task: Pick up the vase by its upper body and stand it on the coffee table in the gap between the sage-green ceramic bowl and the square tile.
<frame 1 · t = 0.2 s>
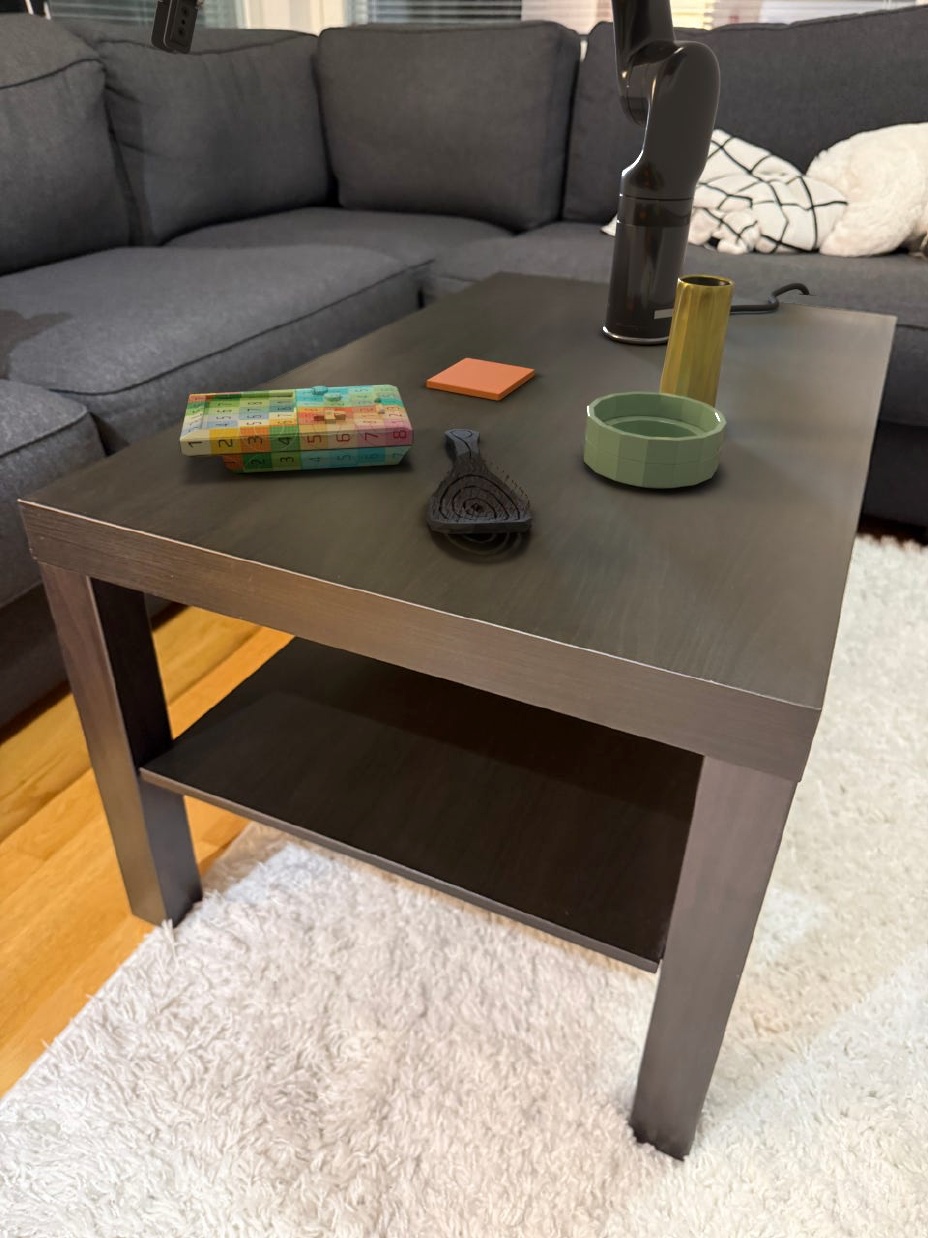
hand: (168, 49, 81), 31 cm above the table, tool tilted 20°, fingers open, 8 cm apart
vase: (681, 426, 90), on the table
puzzle game: (300, 452, 82), on the table
bowl: (648, 465, 81), on the table
hairbrush: (470, 492, 76), on the table
square tile: (481, 381, 100), on the table
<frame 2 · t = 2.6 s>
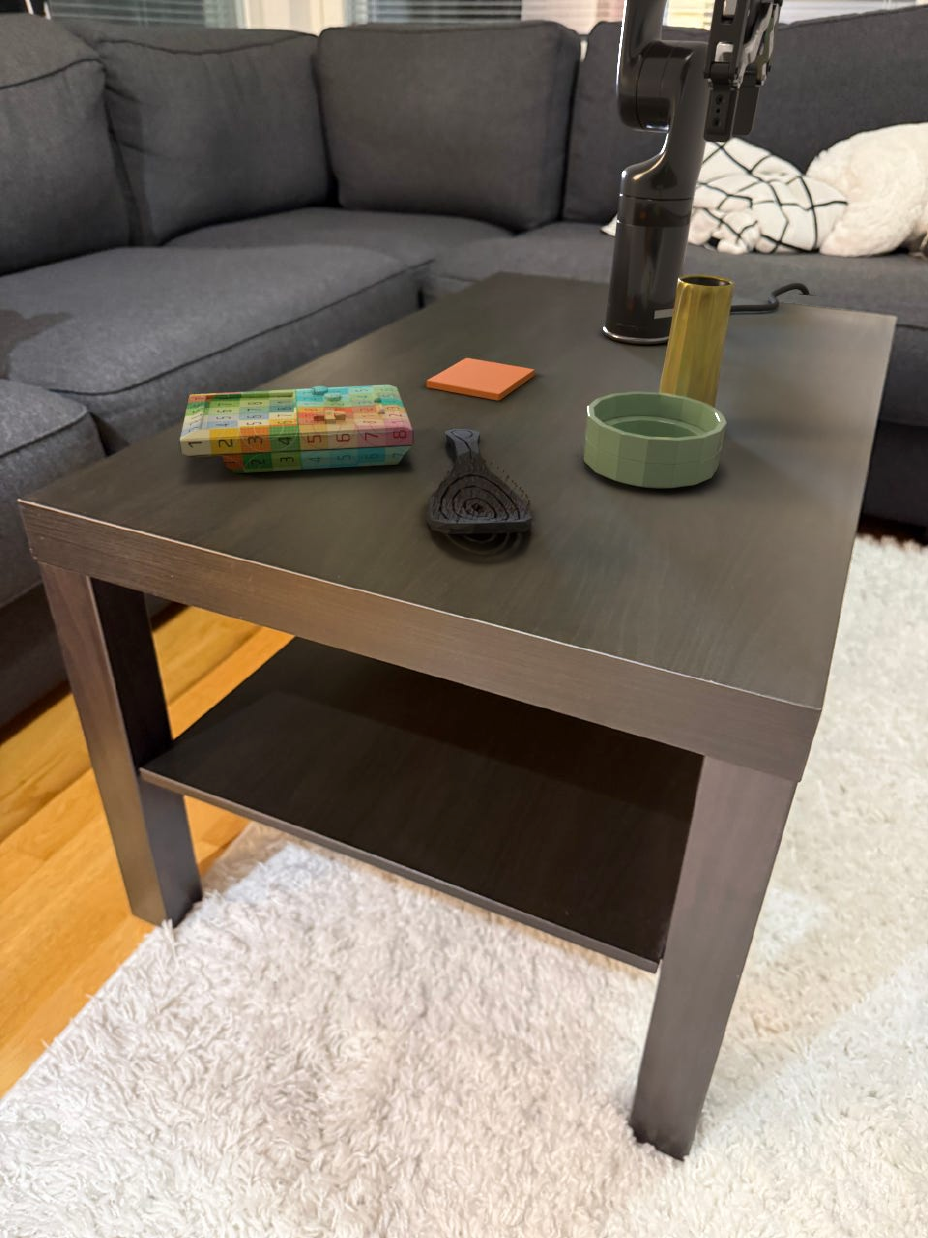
hand: (728, 137, 75), 26 cm above the table, tool pointing down, fingers open, 8 cm apart
nothing on the table moved.
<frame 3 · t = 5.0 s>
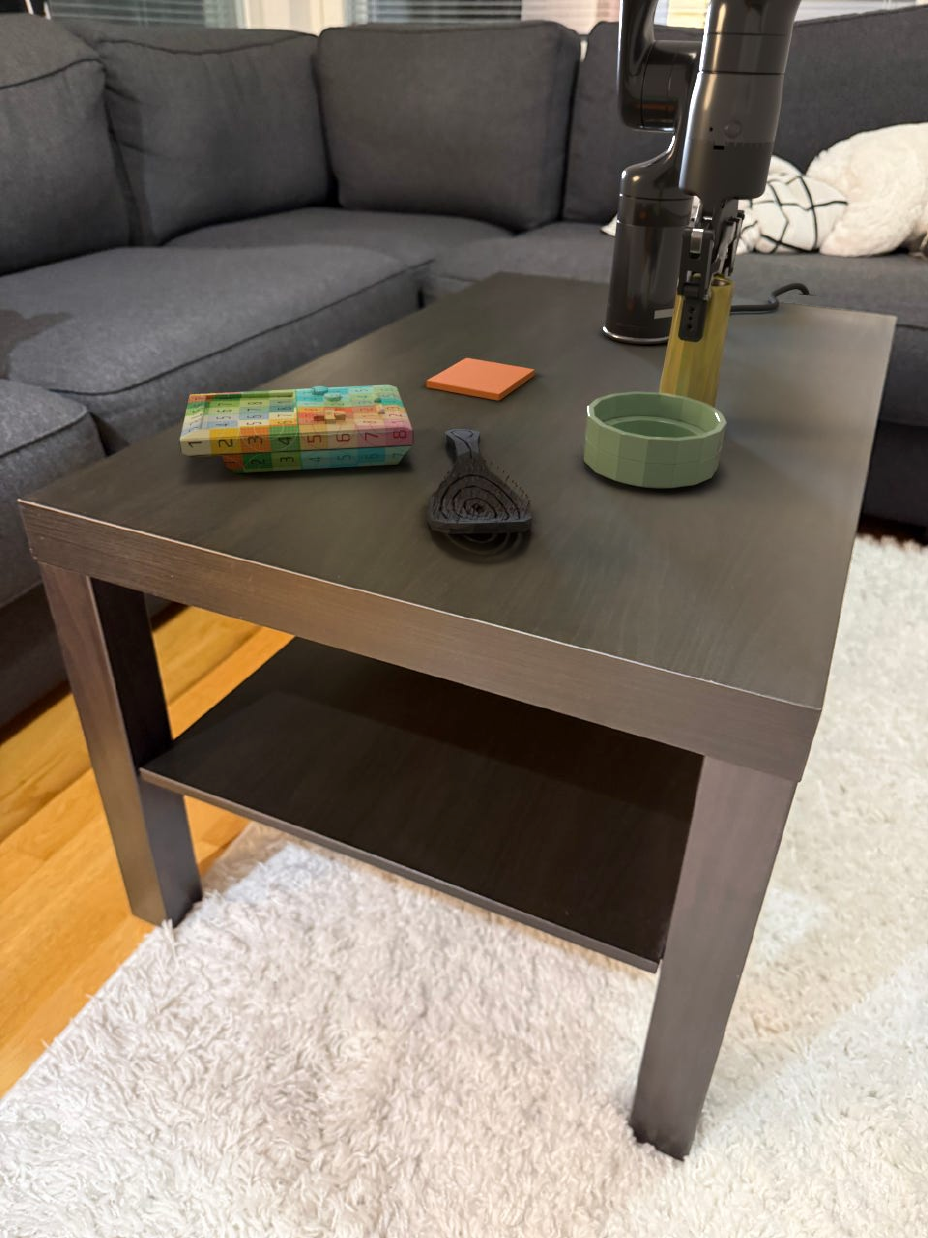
hand: (697, 332, 85), 9 cm above the table, tool pointing down, fingers closed on vase, 5 cm apart
vase: (681, 426, 90), on the table, touching gripper
everything else where it was.
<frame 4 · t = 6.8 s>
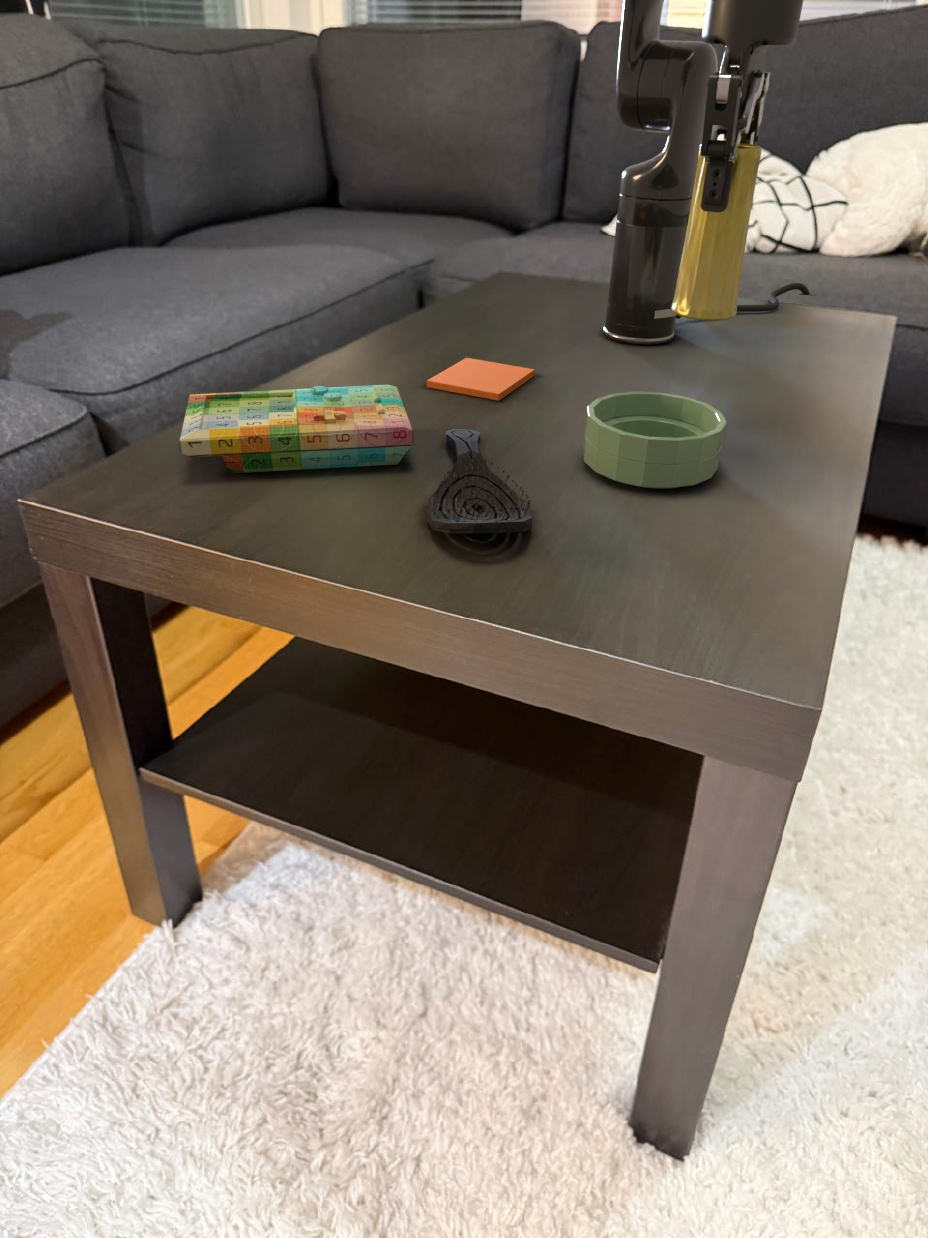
hand: (720, 205, 78), 21 cm above the table, tool pointing down, fingers closed on vase, 5 cm apart
vase: (702, 314, 84), point 11 cm above the table, touching gripper
everything else where it was.
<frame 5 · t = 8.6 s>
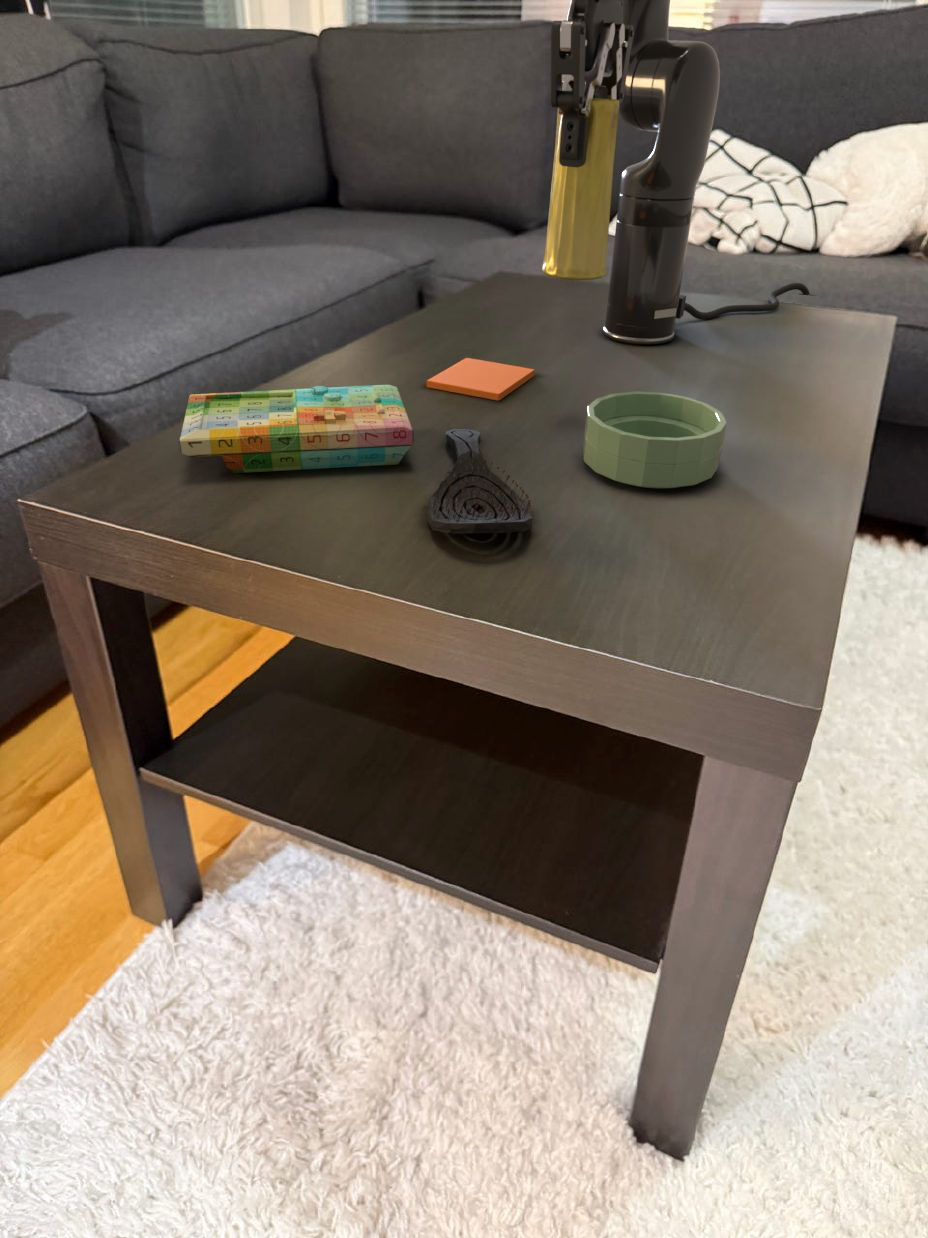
hand: (583, 161, 77), 24 cm above the table, tool pointing down, fingers closed on vase, 5 cm apart
vase: (573, 275, 83), point 14 cm above the table, touching gripper
everything else where it was.
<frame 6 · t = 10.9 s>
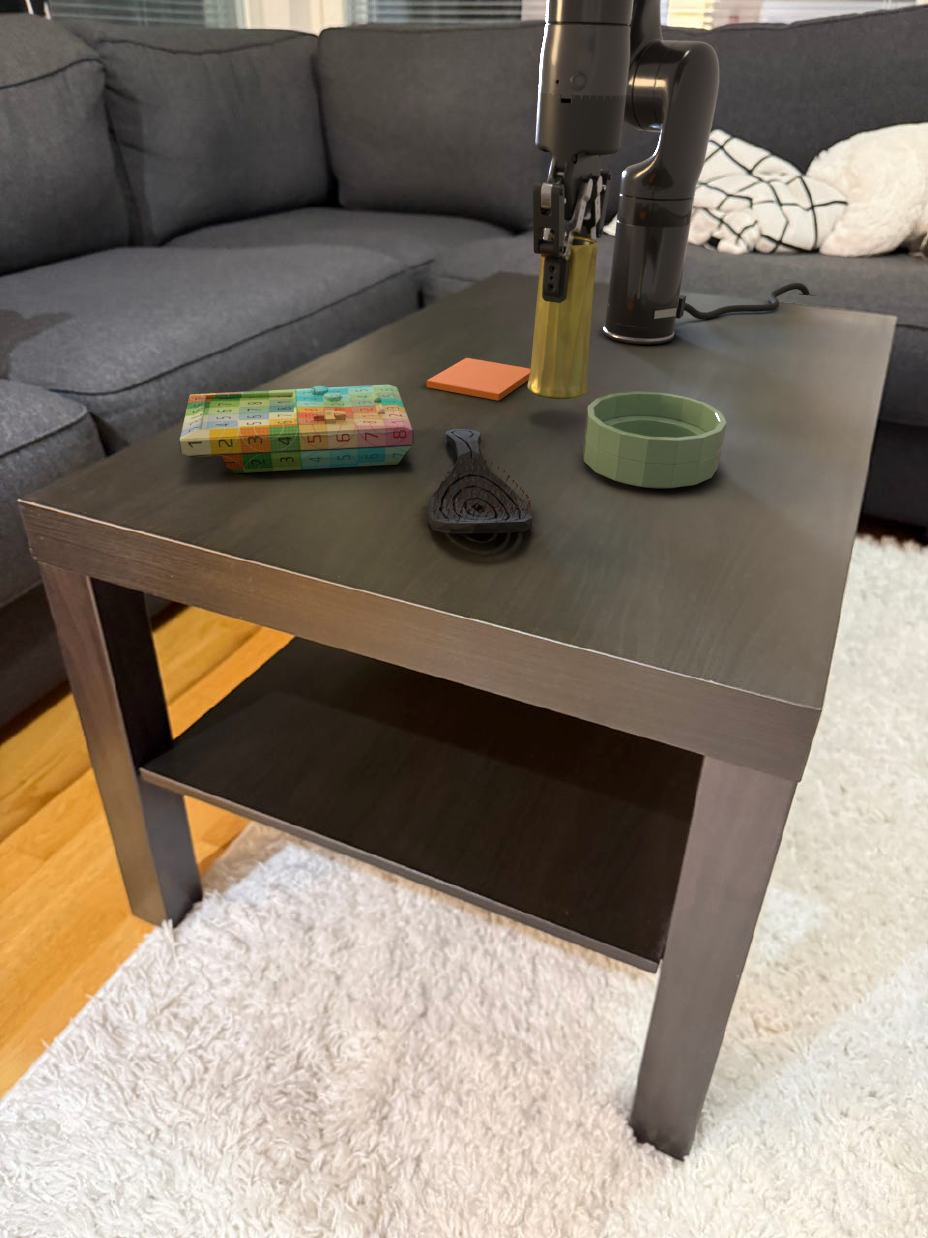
hand: (565, 293, 84), 13 cm above the table, tool pointing down, fingers closed on vase, 5 cm apart
vase: (557, 391, 89), point 3 cm above the table, touching gripper
everything else where it was.
when the fingers open (9 cm above the table, at t = 12.2 s): vase stays where it is, on the table.
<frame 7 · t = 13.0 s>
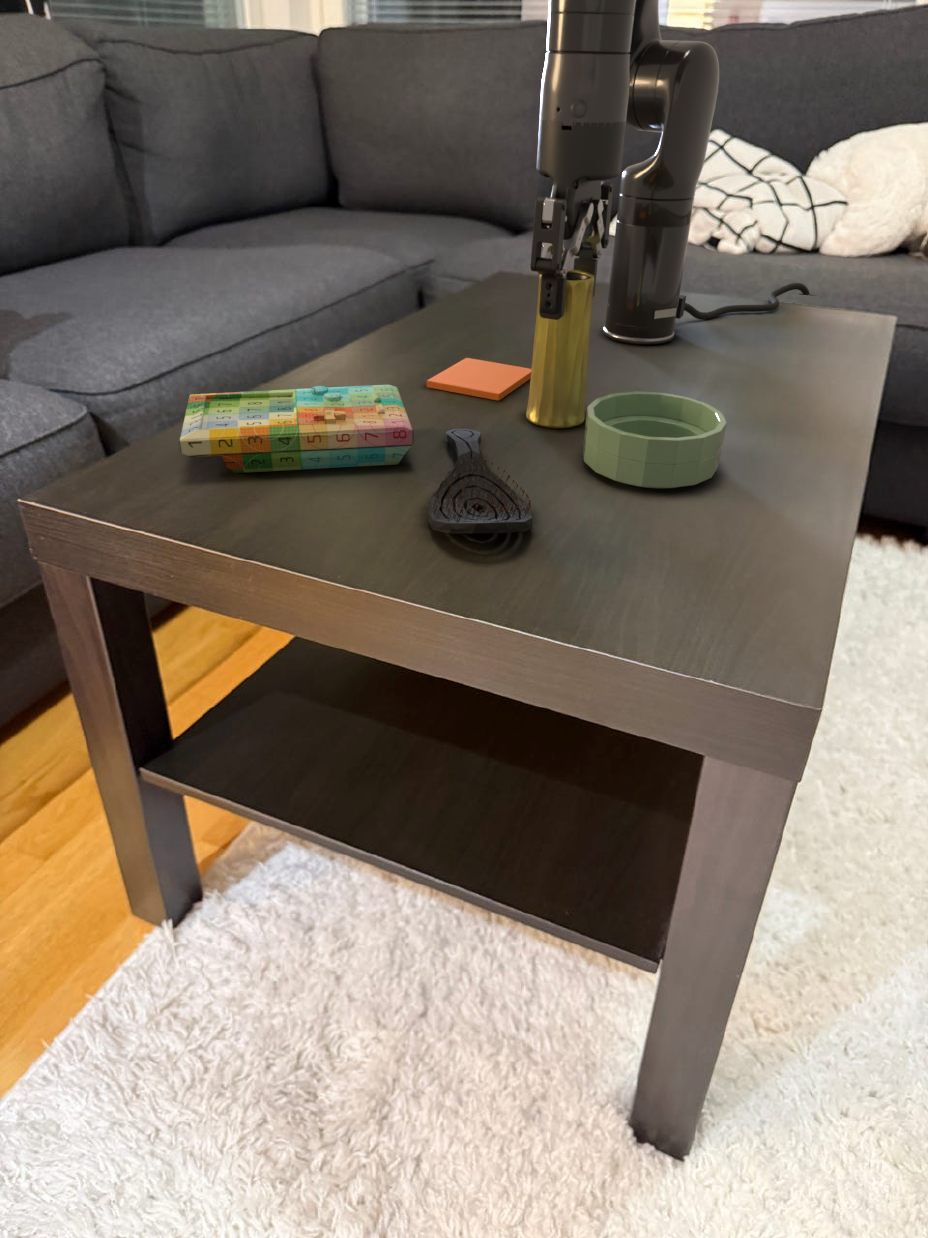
hand: (567, 307, 84), 11 cm above the table, tool pointing down, fingers open, 8 cm apart
vase: (555, 420, 91), on the table
everything else where it was.
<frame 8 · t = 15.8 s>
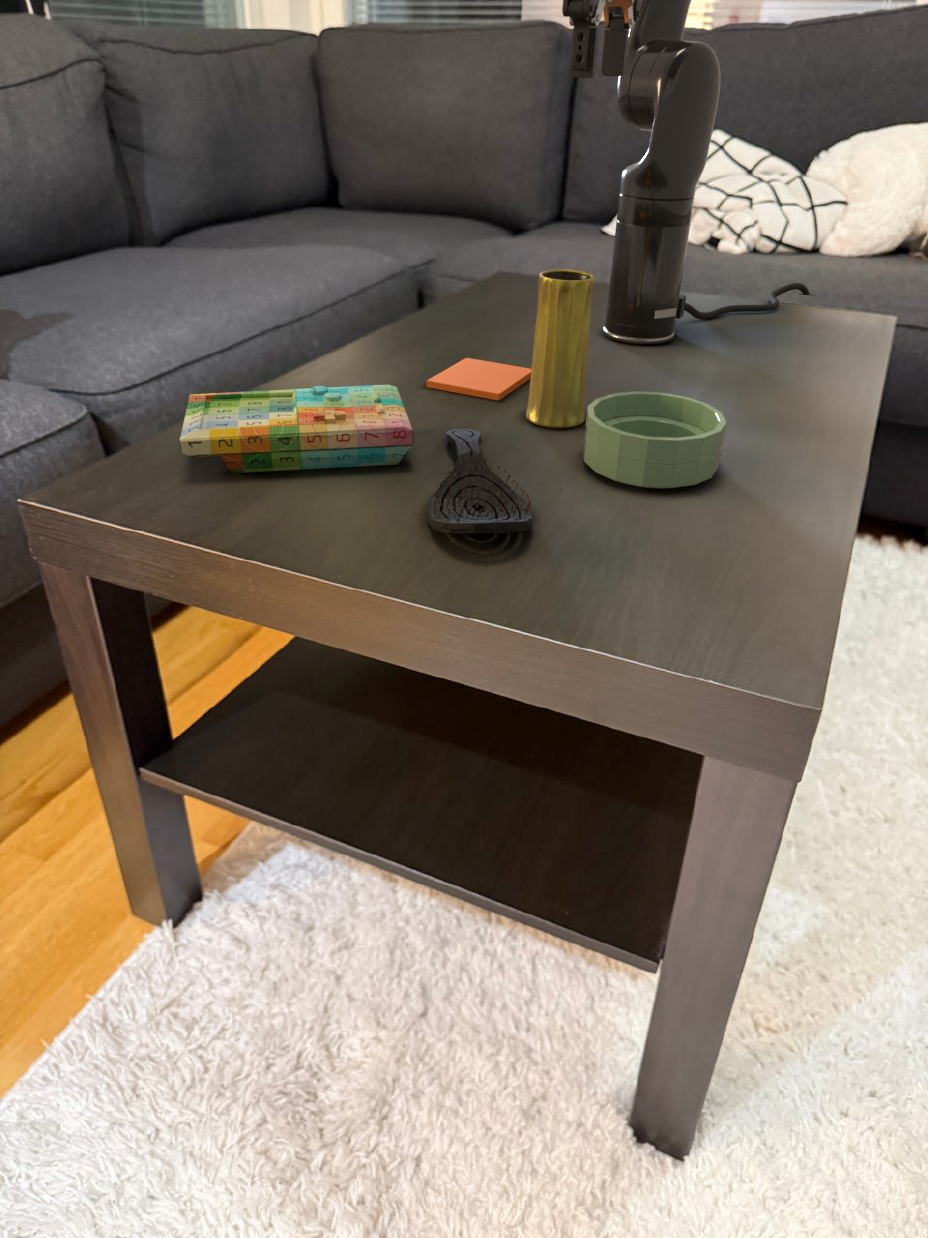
hand: (597, 76, 81), 30 cm above the table, tool pointing down, fingers open, 8 cm apart
nothing on the table moved.
at the end: vase 0.1 cm from the target spot on the table beside the square tile, on the table; vase 14.0 cm from the bowl (horizontally); vase tilted 0° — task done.
